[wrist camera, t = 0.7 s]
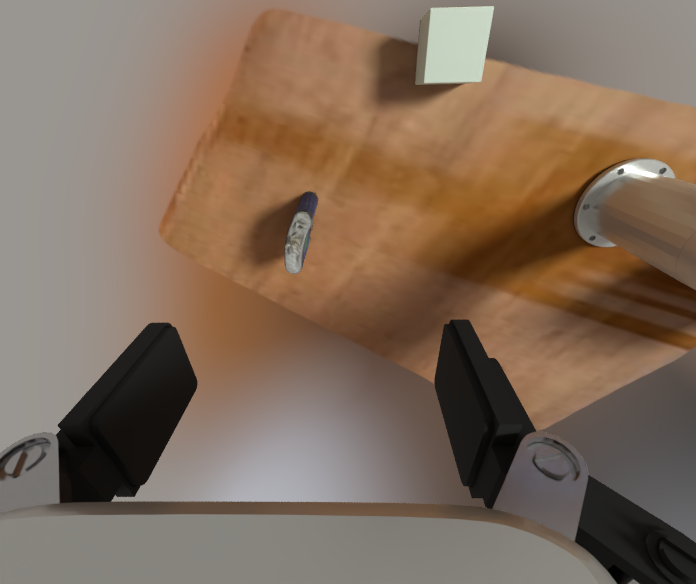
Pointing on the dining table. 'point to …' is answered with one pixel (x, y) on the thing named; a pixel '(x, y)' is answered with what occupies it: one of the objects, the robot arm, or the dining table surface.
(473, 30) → the sage block
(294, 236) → the flask
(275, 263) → the dining table surface
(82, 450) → the robot arm
